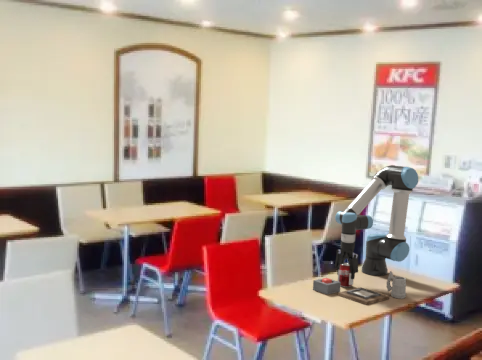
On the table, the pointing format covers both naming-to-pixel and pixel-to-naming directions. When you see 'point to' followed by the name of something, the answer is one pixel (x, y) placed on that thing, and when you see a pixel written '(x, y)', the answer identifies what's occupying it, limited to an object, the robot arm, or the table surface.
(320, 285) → the button housing
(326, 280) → the button
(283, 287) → the table surface
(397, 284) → the mug
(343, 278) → the soda can
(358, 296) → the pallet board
